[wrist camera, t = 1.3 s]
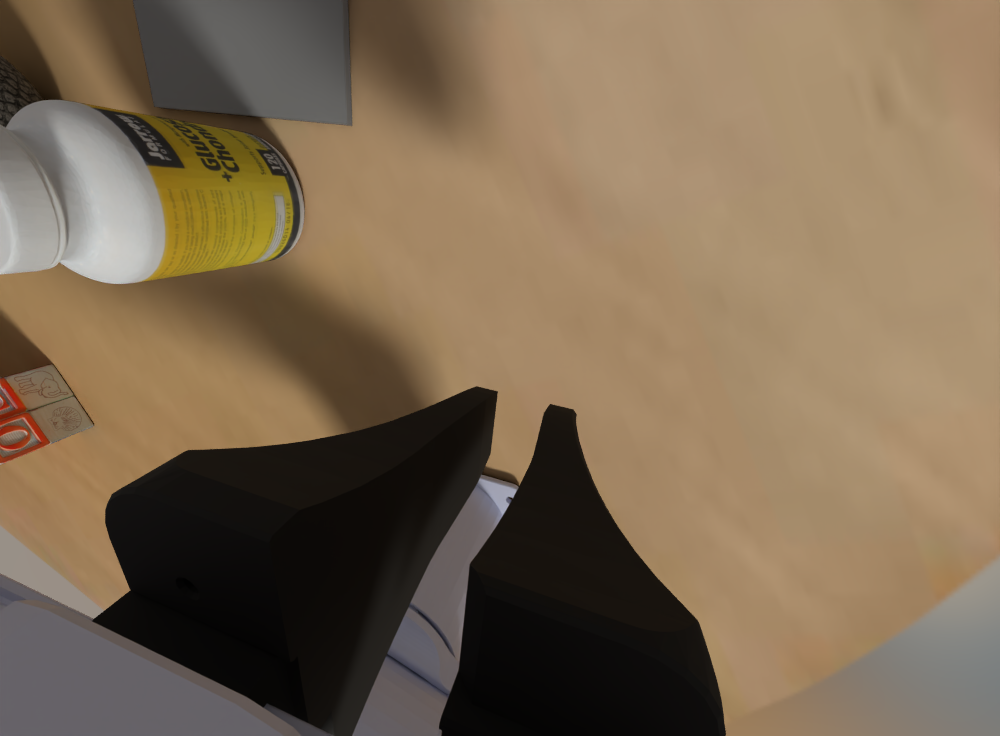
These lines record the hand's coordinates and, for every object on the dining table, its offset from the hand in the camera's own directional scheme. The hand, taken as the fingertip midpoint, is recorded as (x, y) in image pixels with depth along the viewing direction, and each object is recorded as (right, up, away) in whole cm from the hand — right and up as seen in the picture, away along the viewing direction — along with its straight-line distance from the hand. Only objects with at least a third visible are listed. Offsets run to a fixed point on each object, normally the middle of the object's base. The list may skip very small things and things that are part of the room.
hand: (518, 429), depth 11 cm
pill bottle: (-14, +11, +12) cm, 21 cm away
